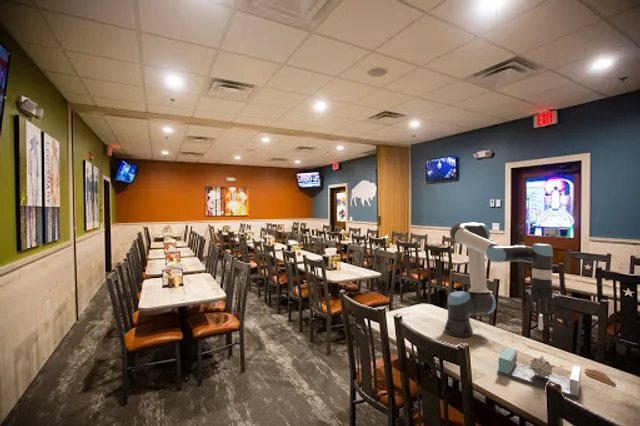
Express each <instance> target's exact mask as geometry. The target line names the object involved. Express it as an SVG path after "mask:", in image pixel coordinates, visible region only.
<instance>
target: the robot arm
mask: <svg viewBox="0 0 640 426" xmlns="http://www.w3.org/2000/svg"><path fill="white" fill-rule="evenodd" d="M449 237H450V239H451V240H452V241H453V242H454V243H457V244H459V245H464V246H465V247H466V248H467V254H468V266H469V267H468V268H469V281H470V288H469V289H468V291H467V292H466V291H453V292H452V291H451V292H450V293H449V294H448V297H447V320H446V323H445V325H444V332H445V334H447V335H449V336H452V337H455V338H462V339H463V338H464V339H468V338H471V337H473V335H474V330H473V328H472V324H471V321H470V317H471V316H473V315H487V314H488V315H489V314H492V313H494V311H495V310H496V307H497V301H496V298H495V296H494V295H493V294H492V293H491V290H489V289H488V285H487V275H486V274H487V272H486V261H485V256H486V258H487V259H488V261H489V262H492V263H505V262H506V263H509V262H510V263H511V262H526V263H531V276H532V277H531V287H530V288H529V289H526V290H525V291H524V294H525V296H526V297H527V300H528V306H529V308H530V312H531V313H533V314H535V321H536V322H538V323H537V324H538V328H537V329H538V330H540V331H543V330H544V324H546V322H547V317H549V316H551V315H552V312H553V309H554V306H555V304H556V301H557V300H558V299H559V297H560V296H559V294H556V293H554V290H553V279H552V278H553V259H554V254H553V253H554V252H553V251H554V250H553V246H552V245H551V244H549V243H533V244H532V246H529V245H524V244H514V245H501V244H498V243H496V242H495V241H491V240H490V237H491V232H490V229H489V227H488V226H487V225H486V224H484V223H482V222H460V223H459V222H458V223H455V224H454V225H453V226H452V227H450V230H449ZM532 294H533V295H534V297H535V304H534V301H533V298H532V297H533V296H532ZM550 296H551V302H550V305H549V308H548V311H547V307H548V306H547V305H548V304H547V301H548V299H549V297H550ZM541 299H542V313H541V303H540V302H541ZM534 305H535V306H534Z"/></svg>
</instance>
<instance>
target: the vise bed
mask: <svg viewBox="0 0 640 426" xmlns="http://www.w3.org/2000/svg"><path fill="white" fill-rule="evenodd" d="M529 368H531V365H530V366H529V365H526V364H523V363H521V362H520V363H519V362H516V364H515V365H514V367H513V369H512V371H511V372H510V373H509V374H507V373H504V372H501V371H499V368H498V369H497V371H496V373H497V375H499V376H502V377H506V378H509V379H512V380H515V381H518V382H521V383H524V384H527V385H530V386H533V387H537V388H539V389H543V390H545V386H546V383H547V382H548V381H553V382H555V383H557V384H560V385H561V387H562V394H563V395H564V396H563V395H562V396H563V397H566V398H570V399H571V400H572V399H573V400H576V401H579V395H580V387H581V366H578V365H573V366H572V368H571V374H570V377H567V376H563V375H560V374H557V373H554V372H551V374H553V376H552V375H549V377H548V376H545V377H541V379H540V377H539V376H538V375H537V374H536V373H534V371H533V370H532V369H529Z"/></svg>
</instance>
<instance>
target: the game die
mask: <svg viewBox="0 0 640 426" xmlns="http://www.w3.org/2000/svg"><path fill="white" fill-rule="evenodd" d="M530 362H531V365H530V367H531V368H529V369H532V370H533V371H534V373H536V374H537V375H538V376H539V377H540V379H541V377H545V376H548V377H549V375H552V376H553V374H551V373H552V370H553V368H555V366H554V365H551V364H550V363H549V361H547V360H546V359H544V356H543V355H541V357H539V358H535V357H533V360H532V359H530Z"/></svg>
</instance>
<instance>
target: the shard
mask: <svg viewBox="0 0 640 426" xmlns="http://www.w3.org/2000/svg"><path fill="white" fill-rule="evenodd" d="M584 371H585V372H586V373H585V375H586V376H587V377H590V378H593V379H595V380H598V381H599V382H602V383H605V384H608V385H611V386H613V385H614V386H613V387H616V385H617V384H616V383H615V382H614V381H613V380H612V379H611V378H610V377H609V376H608V375H607V374H605V373H604V372H602V371H600V370H597V369H593V368H591V369H590V368H584Z"/></svg>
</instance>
